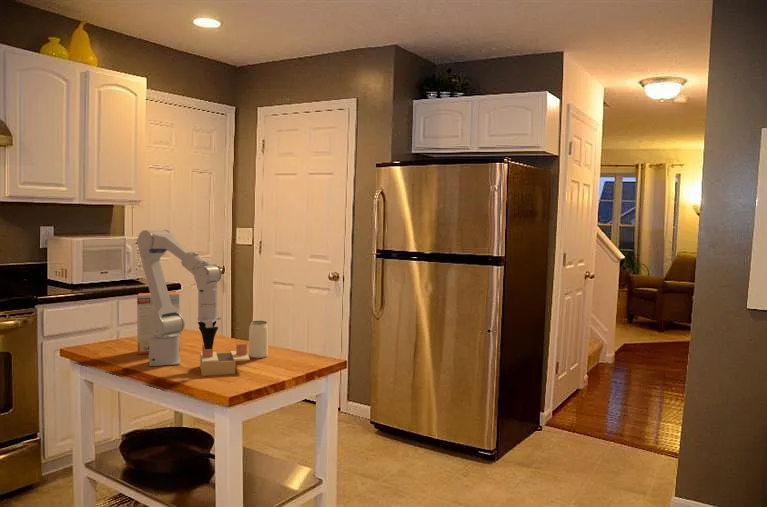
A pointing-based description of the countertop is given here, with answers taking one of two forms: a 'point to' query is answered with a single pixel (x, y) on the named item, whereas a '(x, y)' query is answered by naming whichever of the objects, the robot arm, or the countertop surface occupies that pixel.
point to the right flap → (240, 352)
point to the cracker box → (148, 319)
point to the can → (258, 339)
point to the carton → (218, 365)
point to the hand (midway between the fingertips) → (207, 346)
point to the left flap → (208, 355)
